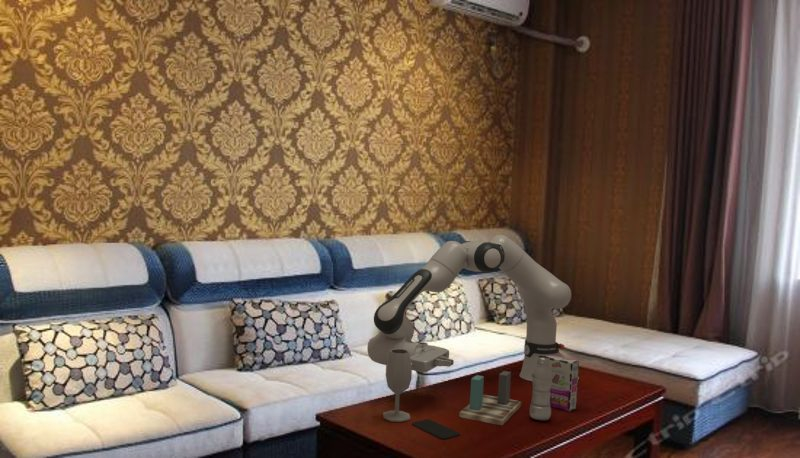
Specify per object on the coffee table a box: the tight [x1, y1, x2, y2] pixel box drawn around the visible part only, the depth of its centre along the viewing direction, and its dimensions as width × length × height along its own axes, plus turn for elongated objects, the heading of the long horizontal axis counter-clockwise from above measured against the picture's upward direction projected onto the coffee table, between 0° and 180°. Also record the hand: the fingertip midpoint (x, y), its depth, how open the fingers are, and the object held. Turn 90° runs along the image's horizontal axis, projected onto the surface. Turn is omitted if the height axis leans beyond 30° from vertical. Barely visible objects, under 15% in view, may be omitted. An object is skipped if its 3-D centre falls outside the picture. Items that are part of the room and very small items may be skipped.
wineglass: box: [382, 349, 413, 423], centre depth 215 cm, size 9×9×21 cm
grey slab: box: [497, 370, 512, 405], centre depth 229 cm, size 2×5×10 cm, turn 155°
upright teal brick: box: [469, 374, 485, 410], centre depth 222 cm, size 2×5×10 cm, turn 155°
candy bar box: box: [547, 355, 580, 413], centre depth 234 cm, size 11×5×16 cm, turn 47°
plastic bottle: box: [529, 356, 553, 422], centre depth 220 cm, size 6×7×20 cm
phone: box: [410, 418, 461, 441], centre depth 208 cm, size 7×1×15 cm
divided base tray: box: [458, 393, 522, 426], centre depth 226 cm, size 14×21×2 cm, turn 155°
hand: (452, 363), depth 225 cm, fingers closed
